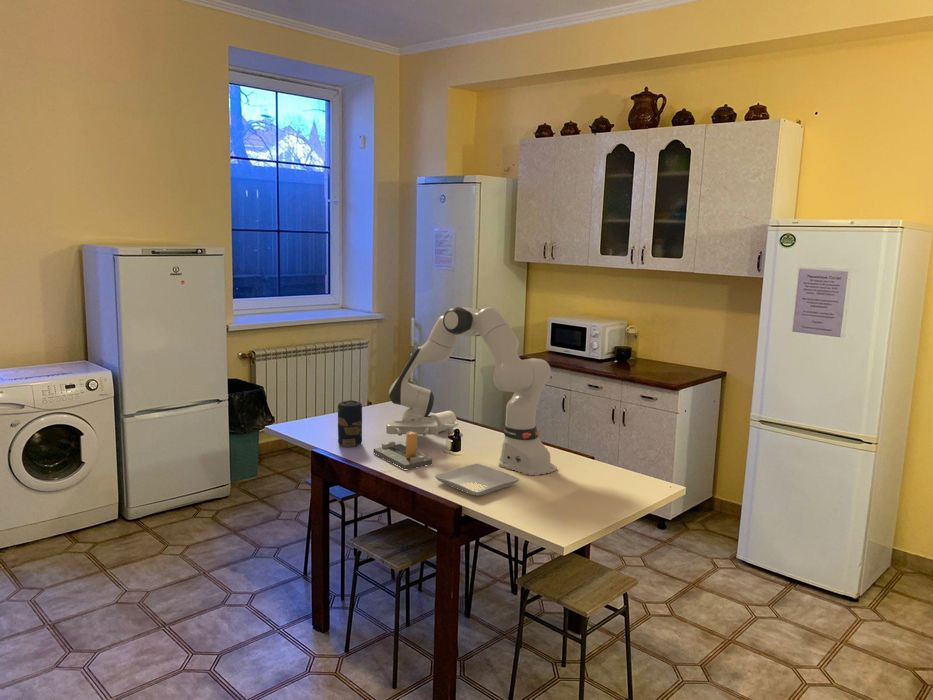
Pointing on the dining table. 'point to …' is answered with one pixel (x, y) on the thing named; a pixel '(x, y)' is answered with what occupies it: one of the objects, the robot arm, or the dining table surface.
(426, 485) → the dining table surface
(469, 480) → the salad plate
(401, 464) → the console
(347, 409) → the canister
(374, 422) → the dining table surface
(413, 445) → the fader knob
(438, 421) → the mug
